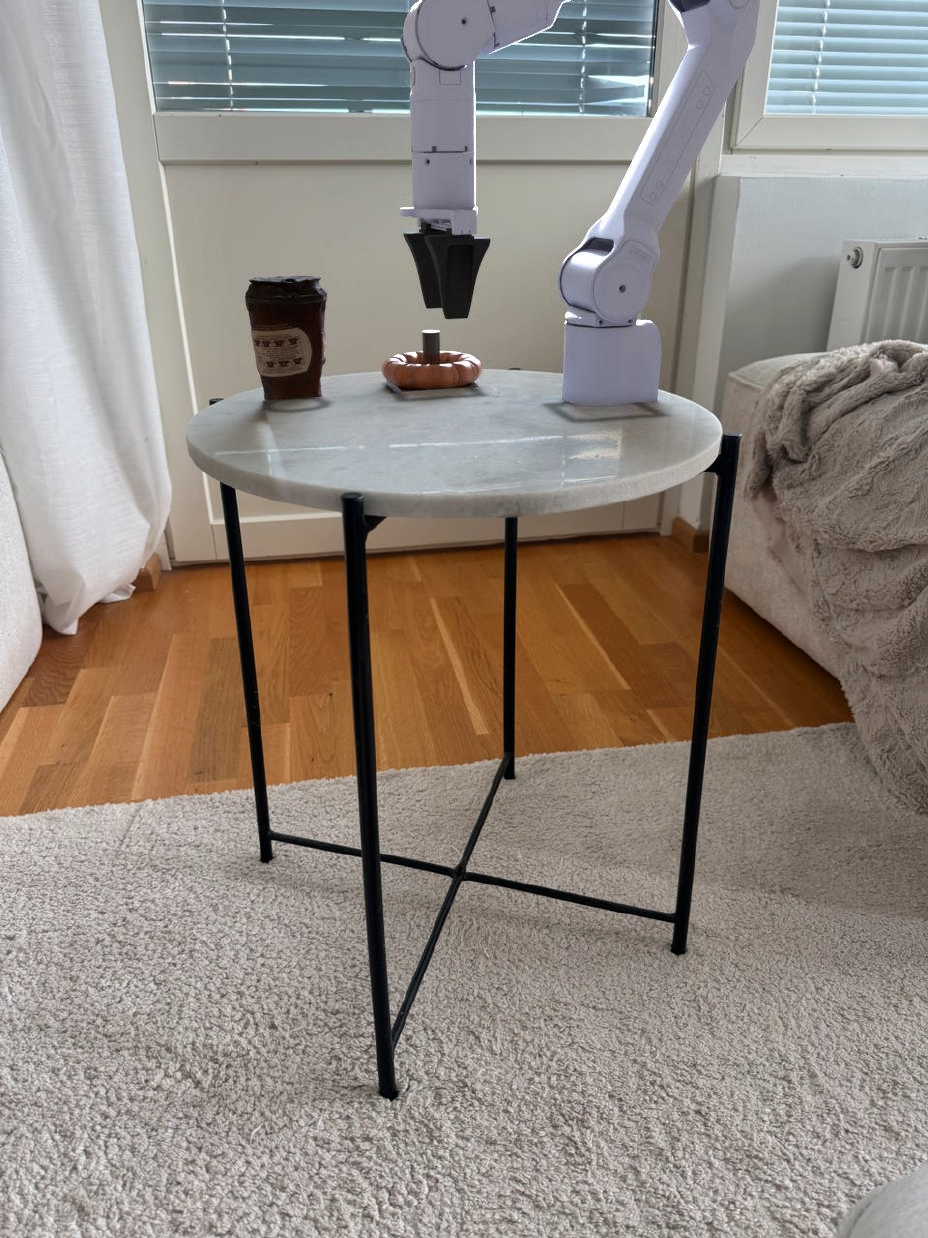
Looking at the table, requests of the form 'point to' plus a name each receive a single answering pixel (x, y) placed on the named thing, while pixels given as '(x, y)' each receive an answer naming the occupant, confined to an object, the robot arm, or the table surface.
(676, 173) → the robot arm
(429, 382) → the ring
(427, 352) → the stand
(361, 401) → the table surface
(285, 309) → the coffee cup
